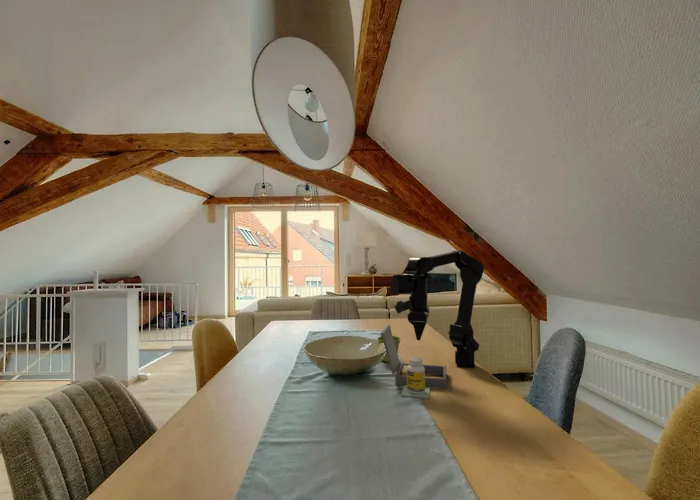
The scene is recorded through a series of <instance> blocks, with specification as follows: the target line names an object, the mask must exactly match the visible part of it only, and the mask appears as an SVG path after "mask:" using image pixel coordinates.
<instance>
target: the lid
mask: <svg viewBox="0 0 700 500" xmlns="http://www.w3.org/2000/svg"><path fill="white" fill-rule="evenodd" d="M393 336H394V335H393V333H392V329H391V325H390V324H387V325H385V327H383V329H382V330H381V331H380V337H382V338H383V342H384V345H385V349H386V352H387V356H388V360H389V362H388V363H389V366H390V370H391V374H392V375H396V373H397V371H396V370H397V368H398V365H400V363H401V362H400V358H399V355H398V354H399V353H398V354H397V350H396V347H395V343H394V339H393Z"/></svg>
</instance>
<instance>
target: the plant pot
mask: <svg viewBox="0 0 700 500" xmlns="http://www.w3.org/2000/svg"><path fill="white" fill-rule="evenodd" d="M392 336H393V339H394V343H395V347H396V350H397V354H399V348H400V347H399V346H400V342H401V340H402V337H399V336H395V335H392ZM376 340H377V343H378V342H379V343H378V345H379V344H380V343H384V342H383V338H382V337H381V336H378V337H377V338H376ZM381 361H383V362H385V363H389V360H388V356H387V352H386V354H385V356H384V357H383V359H381Z"/></svg>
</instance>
